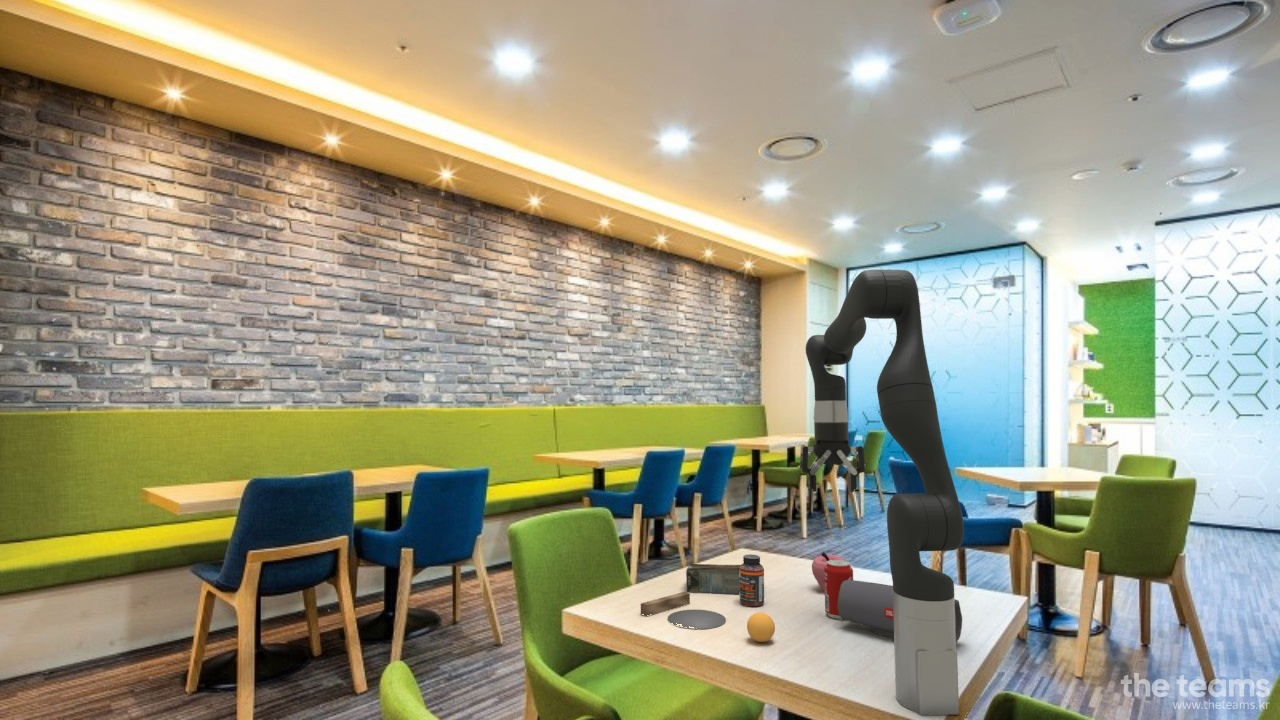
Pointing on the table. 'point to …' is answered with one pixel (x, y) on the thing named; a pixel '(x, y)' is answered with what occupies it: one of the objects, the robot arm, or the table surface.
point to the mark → (697, 619)
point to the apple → (822, 567)
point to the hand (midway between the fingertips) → (832, 491)
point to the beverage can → (835, 584)
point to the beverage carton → (712, 579)
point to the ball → (760, 627)
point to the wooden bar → (665, 603)
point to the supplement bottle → (751, 581)
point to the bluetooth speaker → (875, 606)
